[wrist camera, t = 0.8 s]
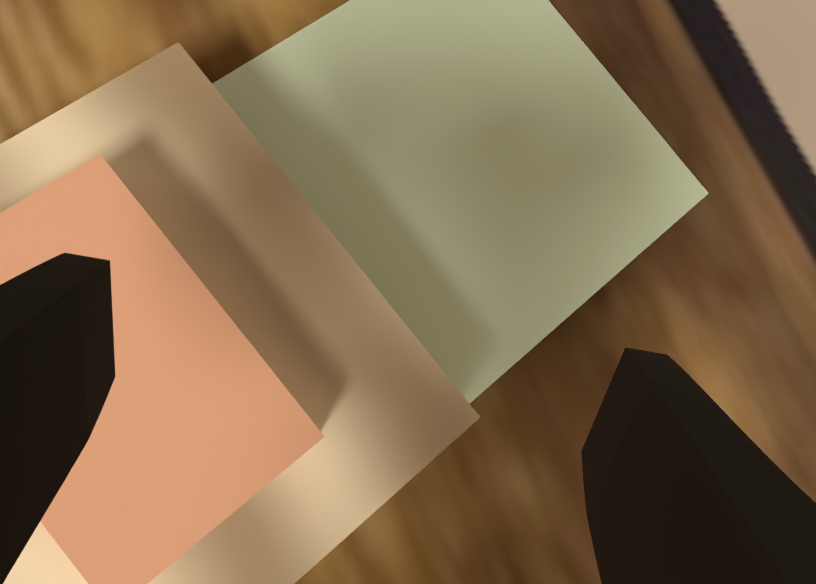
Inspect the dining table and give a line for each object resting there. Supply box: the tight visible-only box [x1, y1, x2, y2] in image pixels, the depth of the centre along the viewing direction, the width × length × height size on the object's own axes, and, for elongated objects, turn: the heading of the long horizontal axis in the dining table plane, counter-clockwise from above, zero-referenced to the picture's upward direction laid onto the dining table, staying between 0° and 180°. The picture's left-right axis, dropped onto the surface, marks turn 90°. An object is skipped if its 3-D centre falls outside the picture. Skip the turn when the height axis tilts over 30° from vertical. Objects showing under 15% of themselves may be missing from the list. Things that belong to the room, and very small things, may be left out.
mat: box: [212, 0, 708, 404], centre depth 27 cm, size 14×14×1 cm
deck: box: [0, 42, 480, 584], centre depth 21 cm, size 16×14×4 cm
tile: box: [0, 153, 325, 584], centre depth 18 cm, size 6×9×2 cm, turn 40°
